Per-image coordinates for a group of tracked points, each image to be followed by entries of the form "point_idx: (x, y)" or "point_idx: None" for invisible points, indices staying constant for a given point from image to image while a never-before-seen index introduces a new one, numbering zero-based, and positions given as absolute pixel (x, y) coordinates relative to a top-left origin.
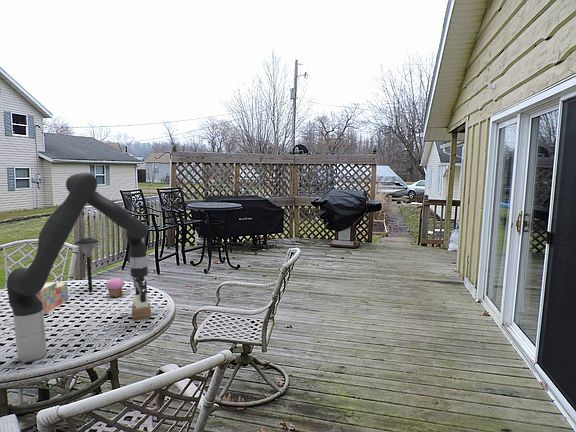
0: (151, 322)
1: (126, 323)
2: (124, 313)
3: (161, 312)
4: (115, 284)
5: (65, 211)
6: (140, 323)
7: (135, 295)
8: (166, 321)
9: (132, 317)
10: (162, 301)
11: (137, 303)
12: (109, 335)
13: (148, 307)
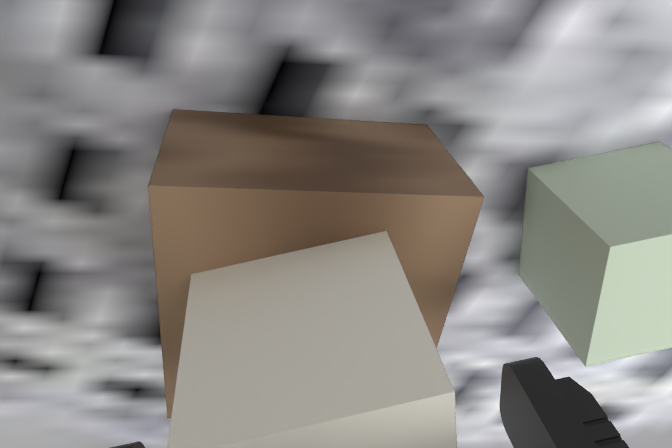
0: (18, 317)
1: (48, 14)
2: (525, 10)
3: None
4: None
5: None
6: (5, 206)
7: (444, 415)
8: (19, 431)
9: (166, 130)
10: (610, 393)
11: (183, 354)
12: None
13: None
